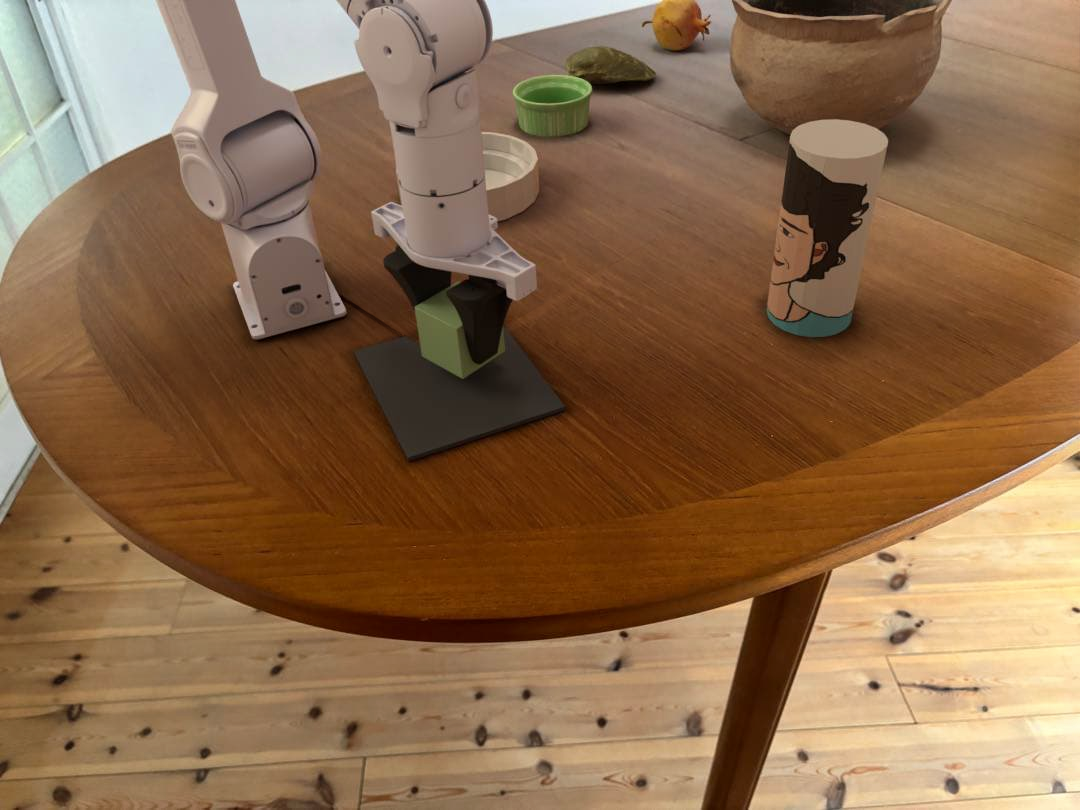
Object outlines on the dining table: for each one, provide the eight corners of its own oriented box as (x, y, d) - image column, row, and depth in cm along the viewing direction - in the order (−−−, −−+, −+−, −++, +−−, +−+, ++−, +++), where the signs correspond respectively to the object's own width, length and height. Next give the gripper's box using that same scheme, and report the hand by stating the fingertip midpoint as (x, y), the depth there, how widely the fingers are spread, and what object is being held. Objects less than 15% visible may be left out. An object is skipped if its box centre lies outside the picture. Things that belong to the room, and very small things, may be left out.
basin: (561, 209, 90) (560, 172, 88) (427, 244, 86) (422, 205, 84) (507, 157, 100) (504, 121, 98) (384, 185, 96) (378, 149, 94)
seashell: (670, 62, 116) (628, 16, 108) (649, 116, 115) (605, 73, 108) (608, 62, 122) (565, 18, 115) (588, 112, 122) (543, 72, 114)
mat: (565, 410, 67) (565, 406, 66) (408, 461, 63) (407, 457, 63) (493, 315, 77) (492, 311, 76) (354, 354, 73) (353, 350, 73)
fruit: (629, 6, 121) (698, 15, 117) (653, -21, 124) (721, -13, 120) (635, 53, 127) (701, 63, 122) (658, 26, 130) (723, 35, 125)
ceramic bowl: (843, 188, 91) (871, 33, 82) (679, 128, 104) (687, -12, 95) (960, 122, 102) (997, -21, 93) (799, 75, 115) (816, -55, 106)
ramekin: (512, 114, 110) (510, 77, 107) (587, 108, 110) (586, 71, 107) (517, 145, 103) (515, 106, 100) (597, 138, 103) (597, 100, 100)
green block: (505, 351, 70) (501, 301, 67) (462, 379, 67) (456, 328, 64) (464, 329, 72) (458, 280, 69) (421, 356, 70) (413, 306, 67)
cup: (797, 282, 78) (824, 112, 69) (867, 312, 75) (906, 136, 65) (749, 314, 75) (771, 140, 66) (820, 347, 71) (854, 167, 62)
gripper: (564, 185, 59) (569, 356, 67) (413, 130, 66) (435, 289, 75) (487, 228, 55) (503, 403, 63) (336, 164, 62) (368, 328, 71)
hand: (462, 344), depth 69 cm, fingers closed on green block, 4 cm apart
